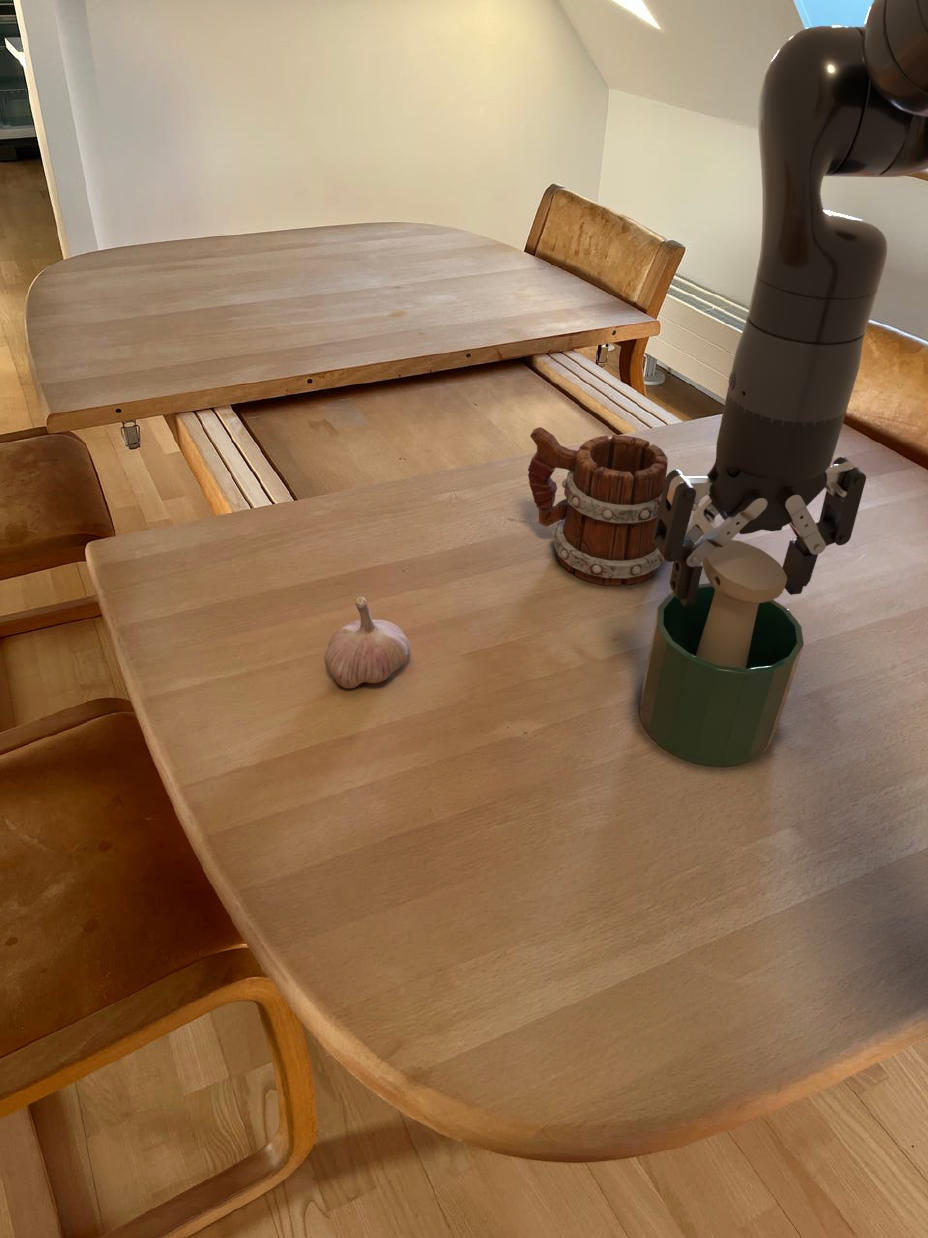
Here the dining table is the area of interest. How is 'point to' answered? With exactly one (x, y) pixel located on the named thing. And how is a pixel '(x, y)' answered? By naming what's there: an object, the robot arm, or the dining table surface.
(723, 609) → the handle
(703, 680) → the cup
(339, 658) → the garlic bulb
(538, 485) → the mug
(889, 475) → the dining table surface
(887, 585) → the dining table surface
